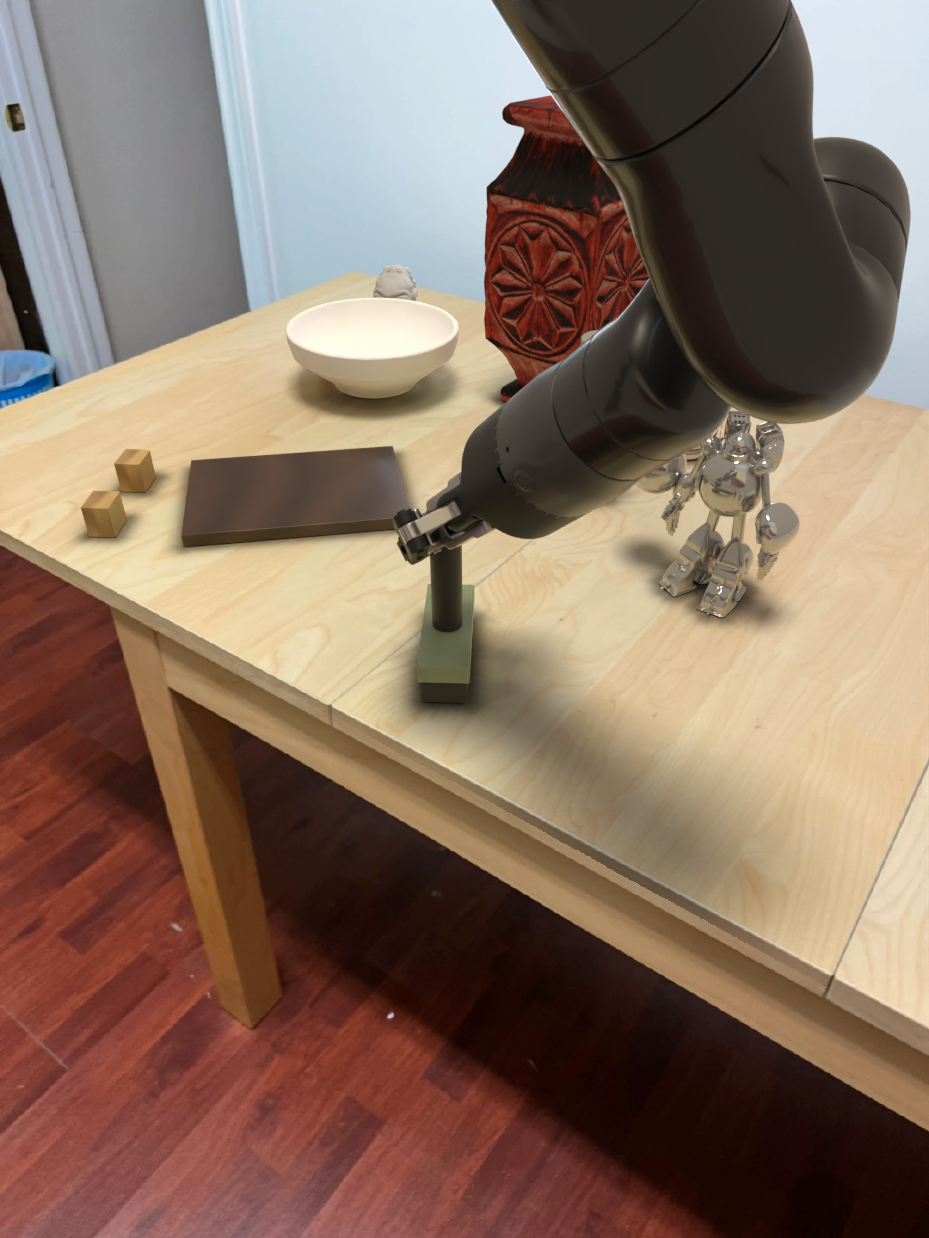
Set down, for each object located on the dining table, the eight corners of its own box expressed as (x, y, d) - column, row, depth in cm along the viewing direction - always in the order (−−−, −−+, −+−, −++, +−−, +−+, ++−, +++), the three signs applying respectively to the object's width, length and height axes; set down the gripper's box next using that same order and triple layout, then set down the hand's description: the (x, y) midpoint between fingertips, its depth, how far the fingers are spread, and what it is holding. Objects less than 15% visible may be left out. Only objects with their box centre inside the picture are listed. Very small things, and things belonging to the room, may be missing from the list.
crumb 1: (115, 537, 79) (88, 536, 79) (127, 520, 82) (101, 519, 82) (107, 508, 77) (80, 507, 77) (119, 491, 80) (93, 490, 80)
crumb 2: (145, 492, 85) (120, 491, 86) (156, 477, 88) (132, 476, 88) (138, 464, 84) (113, 463, 84) (150, 449, 86) (125, 448, 86)
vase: (479, 400, 103) (486, 101, 84) (549, 366, 111) (570, 87, 93) (578, 436, 96) (609, 120, 77) (645, 397, 104) (688, 102, 86)
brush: (418, 702, 63) (410, 545, 55) (429, 616, 71) (423, 469, 63) (469, 703, 63) (469, 546, 55) (474, 617, 71) (474, 470, 63)
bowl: (259, 402, 102) (251, 341, 97) (342, 344, 116) (338, 288, 111) (415, 434, 96) (414, 370, 91) (483, 369, 110) (484, 311, 106)
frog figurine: (424, 312, 126) (423, 261, 121) (410, 329, 120) (408, 276, 116) (382, 308, 127) (380, 257, 123) (367, 325, 121) (364, 273, 117)
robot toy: (598, 558, 78) (618, 395, 68) (643, 532, 81) (667, 374, 72) (745, 638, 69) (790, 464, 60) (787, 605, 72) (837, 436, 63)
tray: (183, 547, 78) (181, 535, 77) (193, 470, 89) (190, 459, 88) (410, 528, 81) (410, 516, 80) (393, 456, 92) (392, 445, 91)
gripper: (616, 355, 52) (474, 466, 66) (427, 422, 44) (315, 529, 59) (674, 472, 52) (519, 556, 66) (494, 557, 44) (366, 630, 59)
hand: (423, 543), depth 63 cm, fingers closed on brush, 2 cm apart
